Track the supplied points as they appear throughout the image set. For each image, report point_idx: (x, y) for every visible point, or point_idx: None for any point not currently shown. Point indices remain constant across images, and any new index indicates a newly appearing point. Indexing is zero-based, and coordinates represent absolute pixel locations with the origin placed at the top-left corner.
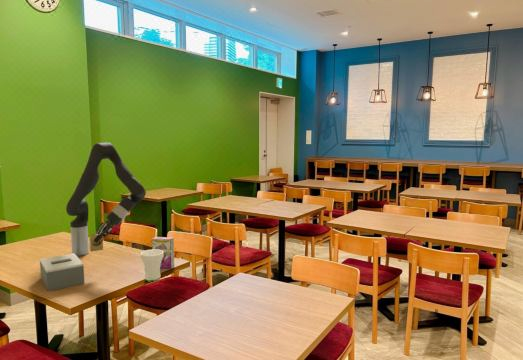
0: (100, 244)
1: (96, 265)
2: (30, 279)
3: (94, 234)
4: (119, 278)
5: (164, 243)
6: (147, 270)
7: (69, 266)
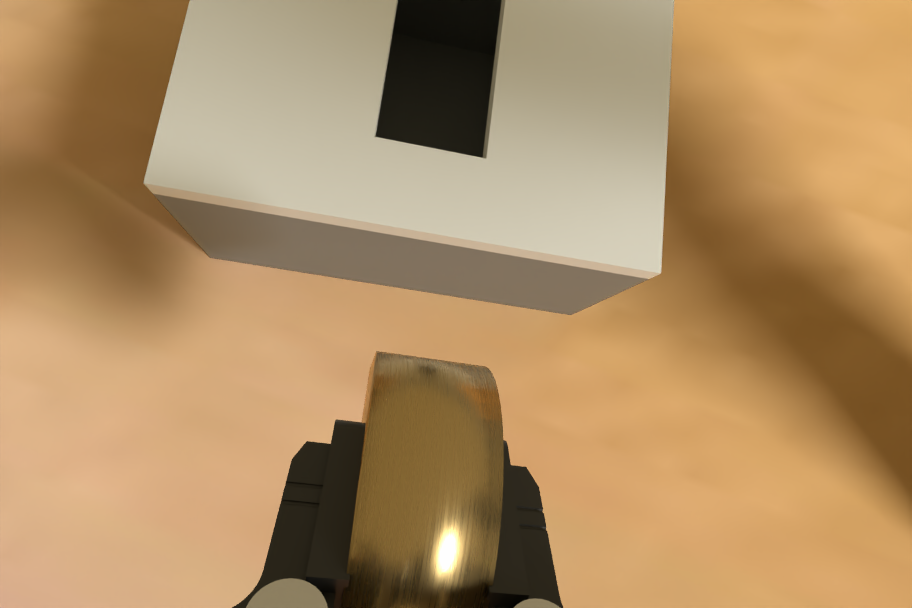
0: None
1: (608, 530)
2: None
3: (443, 486)
4: (56, 574)
5: None
6: None
7: (183, 33)
